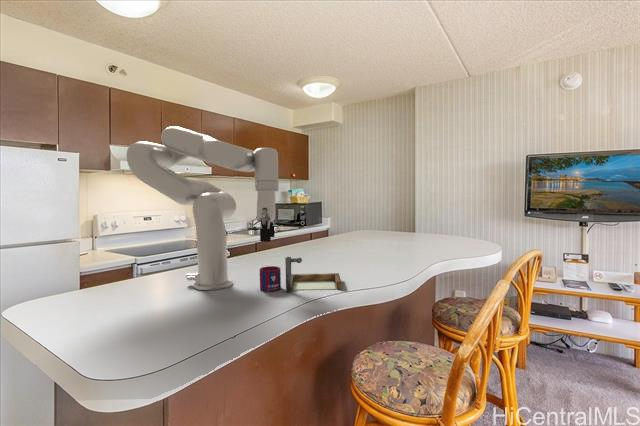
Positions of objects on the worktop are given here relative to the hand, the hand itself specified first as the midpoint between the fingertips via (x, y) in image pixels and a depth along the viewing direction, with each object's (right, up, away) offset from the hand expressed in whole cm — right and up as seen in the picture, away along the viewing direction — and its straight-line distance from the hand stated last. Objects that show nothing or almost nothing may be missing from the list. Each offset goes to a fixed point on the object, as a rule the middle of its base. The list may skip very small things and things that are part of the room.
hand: (267, 239), depth 106 cm
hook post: (+9, -16, -4) cm, 19 cm away
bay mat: (+15, -16, +2) cm, 22 cm away
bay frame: (+15, -16, +3) cm, 22 cm away
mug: (0, -16, +1) cm, 16 cm away
